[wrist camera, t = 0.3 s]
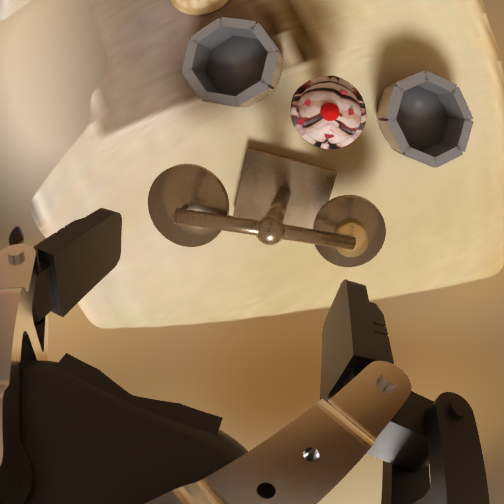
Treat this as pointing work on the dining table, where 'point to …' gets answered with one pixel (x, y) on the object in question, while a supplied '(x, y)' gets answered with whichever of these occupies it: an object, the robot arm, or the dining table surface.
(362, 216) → the balance
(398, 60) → the dining table surface
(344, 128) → the ice cream cone
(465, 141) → the cup
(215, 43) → the cup
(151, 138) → the dining table surface
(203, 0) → the hand bell
